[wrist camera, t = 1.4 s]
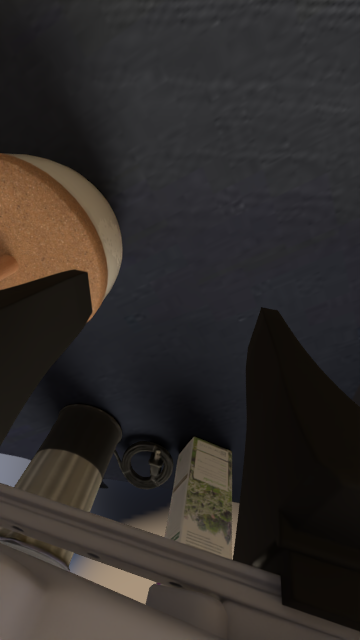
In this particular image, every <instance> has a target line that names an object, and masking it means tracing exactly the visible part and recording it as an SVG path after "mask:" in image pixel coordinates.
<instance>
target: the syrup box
mask: <svg viewBox="0 0 360 640" xmlns="http://www.w3.org/2000/svg"><path fill="white" fill-rule="evenodd" d="M165 538H168V539H171V540H174V541H177V542H180V543H183V544H186V545H189V546H192V547H195V548H198V549H201V550H204V551H207V552H210V553H213V554H216V555H219V556H222V557H225V558H228V559H231V560H232V452H231V451H229V450H227V449H224V448H222V447H219V446H217V445H214V444H212V443H209V442H207V441H204V440H202V439H199V438H197V437H193V438H192V439H191V440H190V442H189V443H188V444H187V445H186V447H185V448H184V449H183V450H182V451H181V453H180V454H179V456H178V461H177V468H176V475H175V481H174V487H173V494H172V499H171V504H170V511H169V516H168V521H167V527H166V532H165ZM156 584H158V585H163V584H160V583H156ZM164 586H166V585H164Z"/></svg>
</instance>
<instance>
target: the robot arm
mask: <svg viewBox="0 0 360 640" xmlns="http://www.w3.org/2000/svg"><path fill="white" fill-rule="evenodd" d="M92 312H93V310H92V302H91V294H90V287H89V279H88V272H85V271H81V270H76V269H73V270H68V271H64V272H60V273H56V274H53V275H50V276H47V277H43V278H40V279H37V280H34V281H30V282H27V283H24V284H20V285H17V286H13V287H10V288H6V289H3V290H0V446H1V444H2V442H3V440H4V438H5V437H6V435H7V433H8V431H9V430H10V428H11V426H12V425H13V423H14V421H15V419H16V418H17V416H18V414H19V413H20V411H21V410H22V408H23V406H24V405H25V403H26V402H27V400H28V398H29V397H30V395H31V394H32V392H33V391H34V389H35V388H36V386H37V385H38V383H39V382H40V381H41V379H42V378H43V376H44V375H45V374H46V372H47V371H48V370H49V368H50V367H51V366H52V365H53V364H54V363H55V361H56V360H57V359H58V358H59V357H60V355H61V354H62V353H63V352H64V351H65V350H66V348H67V347H68V346H69V345H70V344H71V343H72V341H73V340H74V339H75V338H76V337H77V335H78V334H79V333H80V332H81V330H82V329H83V327H84V326H85V324H86V323H87V321H88V319H89V318H90V316H91V314H92ZM246 402H247V432H246V444H245V456H244V466H243V477H242V487H241V496H240V505H239V514H238V523H237V531H236V539H235V547H234V555H233V560H231V559H228V558H225V557H222V556H219V555H216V554H213V553H210V552H207V551H204V550H201V549H198V548H195V547H192V546H189V545H186V544H183V543H180V542H177V541H174V540H171V539H168V538H165V537H162V536H159V535H156V534H153V533H150V532H147V531H144V530H141V529H138V528H135V527H132V526H129V525H125V524H123V523H120V522H117V521H114V520H111V519H108V518H104V517H102V516H99V515H96V514H93V513H90V512H87V511H84V510H81V509H78V508H74V507H71V506H68V505H65V504H62V503H59V502H56V501H53V500H50V499H47V498H44V497H41V496H38V495H35V494H32V493H29V492H26V491H23V490H20V489H17V488H14V487H11V486H8V485H5V484H2V483H0V527H3V528H6V529H9V530H11V531H14V532H17V533H20V534H23V535H25V536H28V537H31V538H34V539H37V540H40V541H42V542H45V543H48V544H51V545H54V546H56V547H59V548H62V549H65V550H68V551H70V552H73V553H76V554H79V555H82V556H84V557H88V558H90V559H93V560H96V561H99V562H101V563H104V564H107V565H110V566H113V567H115V568H118V569H121V570H124V571H127V572H130V573H132V574H135V575H138V576H141V577H144V578H146V579H149V580H152V581H155V582H157V583H160V584H163V585H158V584H153V585H152V586H151V587H150V588H149V592H148V597H147V601H146V605H145V604H142V603H140V602H138V601H136V600H133V599H131V598H129V597H126V596H124V595H122V594H119V593H117V592H115V591H113V590H110V589H108V588H105V587H103V586H101V585H99V584H96V583H94V582H92V581H89V580H87V579H85V578H83V577H80V576H78V575H76V574H73V573H71V572H69V571H66V570H64V569H62V568H59V567H57V566H55V565H52V564H50V563H48V562H45V561H43V560H40V559H38V558H36V557H33V556H31V555H29V554H26V553H24V552H21V551H19V550H16V549H14V548H11V547H9V546H6V545H4V544H1V543H0V640H360V407H359V406H358V405H357V404H355V402H353V401H352V400H351V399H350V398H349V397H348V396H347V395H346V394H345V393H344V392H343V391H342V390H340V389H339V388H338V386H337V385H336V384H335V383H334V382H333V381H332V380H331V379H330V378H329V377H328V376H327V375H326V374H325V373H324V372H323V371H322V370H321V369H320V368H319V366H318V365H317V364H316V363H315V362H314V360H313V359H312V358H311V357H310V356H309V354H308V353H307V352H306V351H305V349H304V348H303V347H302V345H301V344H300V343H299V341H298V340H297V338H296V337H295V336H294V334H293V333H292V331H291V330H290V328H289V327H288V325H287V324H286V322H285V321H284V319H283V318H282V316H281V315H280V313H279V312H278V311H277V310H272V309H267V308H262V307H261V310H260V313H259V316H258V319H257V322H256V325H255V328H254V331H253V334H252V337H251V340H250V343H249V346H248V353H247V362H246ZM164 585H166V586H164Z"/></svg>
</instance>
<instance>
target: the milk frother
mask: <svg viewBox="0 0 360 640" xmlns="http://www.w3.org/2000/svg"><path fill="white" fill-rule="evenodd" d="M121 438H122V430H121V427H120V426H119V424H118V423H117V422H116V420H115V419H114V418H113V417H111V416H110V415H109V414H108V413H106V412H104V411H102V410H100V409H98V408H95V407H93V406H89V405H84V404H74V405H73V404H72V405H68V406H66V407H64V408H63V409H62V410H61V411H60V413H59V415H58V419H57V421H56V423H55V424H54V426H53V427H52V429H51V431H50V433H49V434H48V436H47V438H46V439H45V441H44V442H43V444H42V445H41V447H40V448H39V450H38V452H37V453H36V455H35V456H34V458H33V459H32V461H31V462H30V464H29V465H28V467H27V468H26V470H25V471H24V473H23V474H22V476H21V478H20V479H19V480H18V482H17V484H16V485H15V487H14V488H17V489H20V490H23V491H26V492H29V493H32V494H35V495H38V496H41V497H44V498H47V499H50V500H53V501H56V502H59V503H62V504H65V505H68V506H71V507H74V508H78V509H81V510H84V511H87V512H90V510H91V507H92V504H93V502H94V499H95V497H96V494H97V492H98V489H99V486H100V484H101V481H102V479H103V476H104V473H105V471H106V469H107V466H108V464H109V461H110V459H111V457H112V455H113V453H114V455H115V456H116V458H117V461H118V463H119V466H120V468H121V470H122V472H123V474H124V476H125V477H126V479H127V480H128V481H129V482H130V483H131V484H133V485H134V486H136V487H138V488H141V489H152V488H155V487H158V486H159V485H162V484H163V483H164V482H165V481H166V480H167V479H168V478H169V477H170V475H171V473H172V470H173V459H172V457H171V455H170V453H169V452H168V451H167V450H166V449H165V448H164V447H162V446H160V445H158V444H156V443H152V442H147V441H140V442H137V443H134V444H132V445H131V446H130V447H129V448H128V449H127V450H126V451H125V453H124V455H123V459H122V462H121V460H120V458H119V456H118V454H117V452H116V450H115V448H116V446H117V443H118V442H120V440H121ZM141 451H150V452H153V453H152V455H151V457H150V459H149V464H150V465H151V467H150V468H151V470H150V474H151V476H150V477H142V476H140V475H138V474H137V473H136V472H135V471H134V470H133V468H132V466H131V462H130V461H131V457H132V456H133V455H134V454H136V453H138V452H141ZM163 463H164V468H163V470H162V472H161V467H162V465H163ZM160 472H161V473H160ZM0 543H1V544H4V545H6V546H9V547H11V548H14V549H16V550H19V551H21V552H24V553H26V554H29V555H31V556H33V557H36V558H38V559H40V560H43V561H45V562H48V563H50V564H52V565H55V566H57V567H59V568H62V569H64V570H66V571H69V572H70V569H69V564H70V561H71V559H72V556H73V552H70V551H68V550H65V549H62V548H59V547H56V546H54V545H51V544H48V543H45V542H42V541H40V540H37V539H34V538H31V537H28V536H25V535H23V534H20V533H17V532H14V531H11V530H9V529H6V528H3V527H0Z"/></svg>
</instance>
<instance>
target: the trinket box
mask: <svg viewBox="0 0 360 640" xmlns="http://www.w3.org/2000/svg"><path fill="white" fill-rule="evenodd" d="M121 260H122V238H121V232H120V228H119V224H118V221H117V219H116V216H115V214H114V212H113V210H112V208H111V207H110V205H109V203H108V202H107V200H106V199H105V198H104V196H103V195H102V194H101V192H100V191H99V190H98V189H97V188H96V187H95V186H94V185H93V184H92V183H90V182H89V181H88V180H87V179H85V178H84V177H83V176H82V175H80V174H79V173H77V172H76V171H74V170H72V169H71V168H69V167H67V166H64V165H62V164H60V163H57V162H55V161H52V160H49V159H45V158H41V157H37V156H31V155H25V154H2V153H0V290H3V289H6V288H10V287H13V286H17V285H20V284H24V283H27V282H30V281H34V280H37V279H40V278H43V277H47V276H50V275H53V274H56V273H60V272H64V271H68V270H73V269H76V270H81V271H85V272H88V279H89V287H90V294H91V302H92V310H93V312H92V314H91V316H90V318H89V319H88V321H89V320H90V319H91V318H92V317H93V315H94V314H95V313H96V311H97V310H98V308H99V307H100V305H101V303H102V301H103V300H104V298H105V297H106V296H107V294H108V293H109V291H110V290H111V288H112V286H113V284H114V282H115V280H116V277H117V275H118V272H119V269H120V265H121ZM88 321H87V322H88Z"/></svg>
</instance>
